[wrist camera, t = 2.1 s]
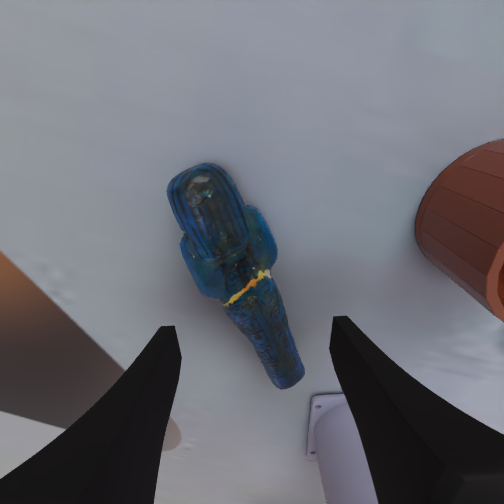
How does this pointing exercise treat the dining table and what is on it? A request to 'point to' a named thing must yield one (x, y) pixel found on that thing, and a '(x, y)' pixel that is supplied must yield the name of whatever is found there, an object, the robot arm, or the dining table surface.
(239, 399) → the dining table surface
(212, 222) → the figurine
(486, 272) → the cup
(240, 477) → the dining table surface
